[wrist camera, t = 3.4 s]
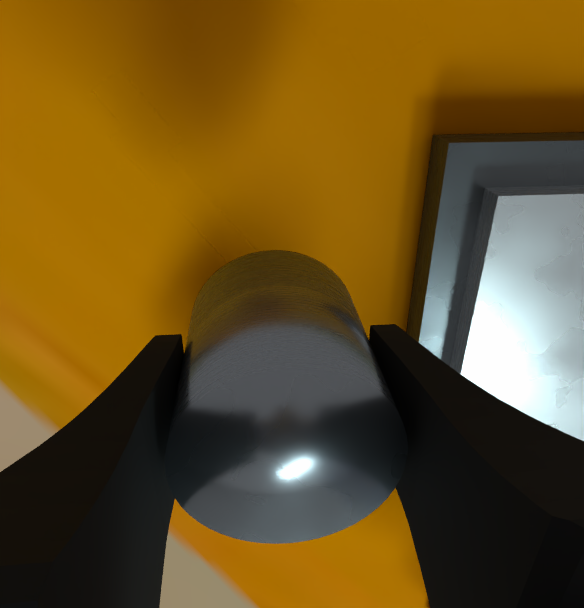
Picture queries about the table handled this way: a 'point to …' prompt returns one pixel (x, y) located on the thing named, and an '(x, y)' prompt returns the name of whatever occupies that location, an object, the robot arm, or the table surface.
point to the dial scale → (506, 269)
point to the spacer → (281, 406)
